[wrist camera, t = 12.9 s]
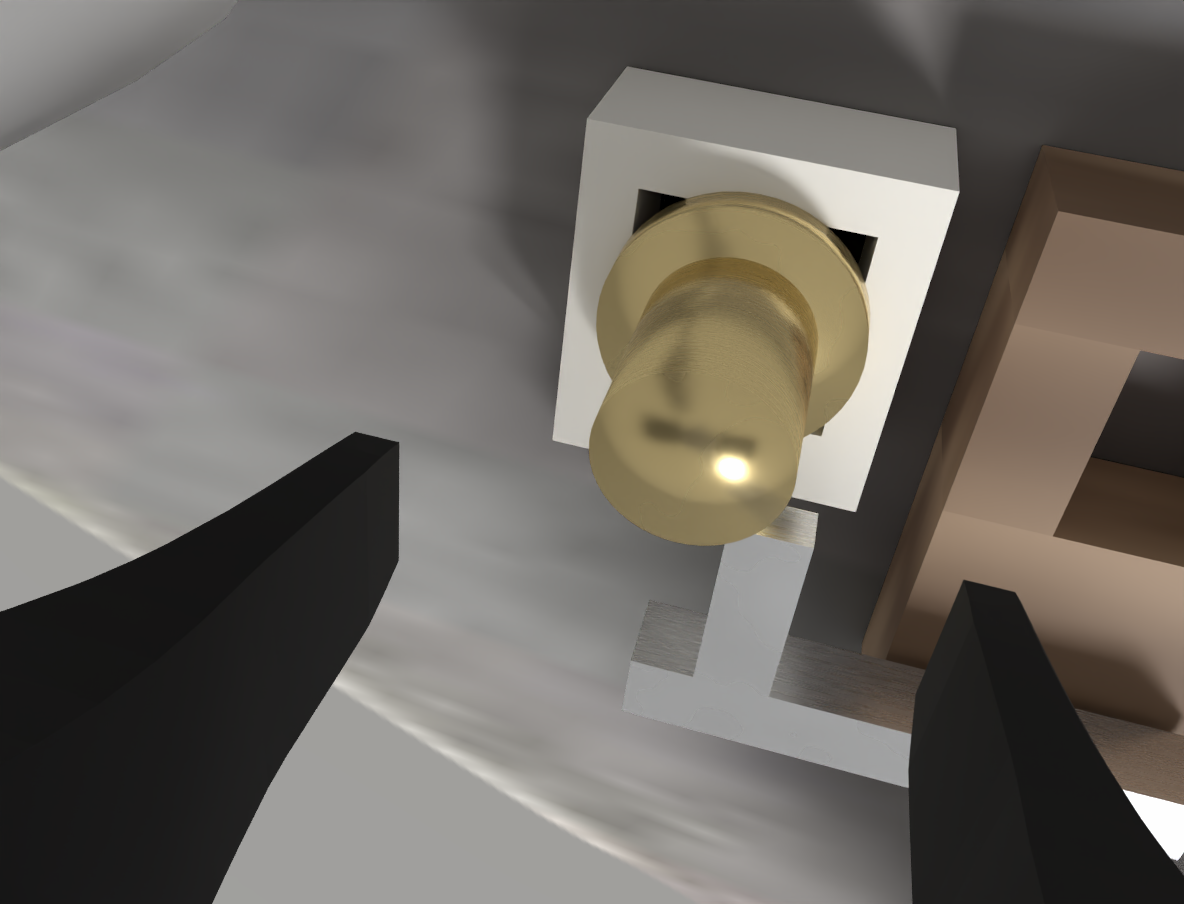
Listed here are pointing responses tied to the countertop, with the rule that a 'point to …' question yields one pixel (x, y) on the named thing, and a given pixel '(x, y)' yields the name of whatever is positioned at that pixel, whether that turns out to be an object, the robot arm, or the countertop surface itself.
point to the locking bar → (832, 684)
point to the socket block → (1061, 448)
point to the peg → (722, 362)
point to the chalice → (86, 52)
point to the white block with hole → (777, 169)
